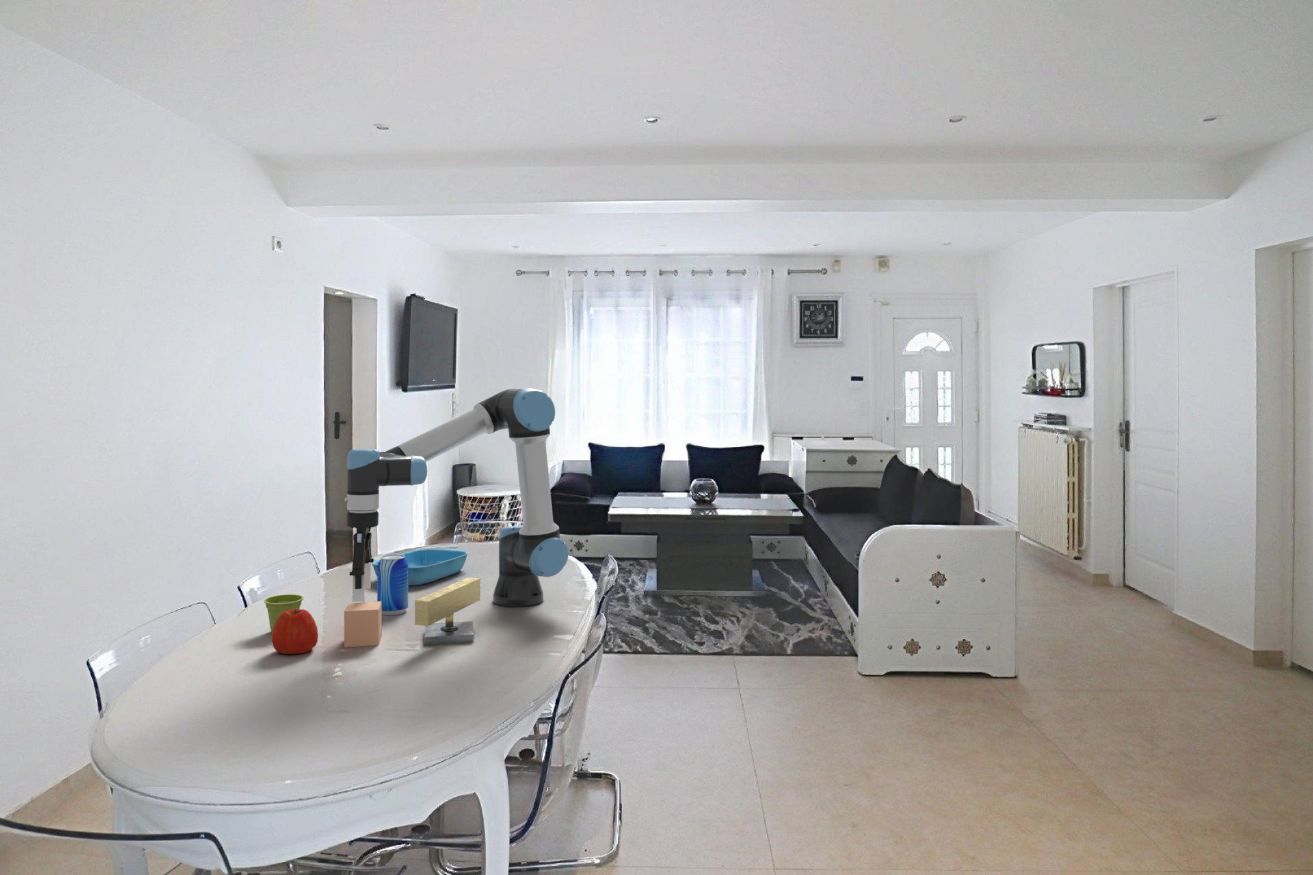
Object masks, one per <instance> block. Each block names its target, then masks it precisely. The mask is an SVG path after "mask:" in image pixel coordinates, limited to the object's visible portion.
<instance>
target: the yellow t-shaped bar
mask: <svg viewBox="0 0 1313 875" xmlns="http://www.w3.org/2000/svg"><path fill="white" fill-rule="evenodd" d="M480 601H481V578H480V577H479V578H478V577H466V578H464V579H461V580H459V581H457V582H454V583H452V584H449V585H447V586H445V587H443V588H441V589H438V590H435V591H433V592H432V593H429V594H426V595H424V596H421V597H420V598H417V599H415V600H414V626H415V625H416V626H425V627H426V626H429V625H431V624H433V623H438V622H439V621H441V620H443V619H445V622H444V623H445V627H447V628H451V627H453V622H454V614H455V613H457V612H459V611H461V610H463V609H465V608H467V607H469V606H471V605H474V604H476V603H477V602H480Z"/></svg>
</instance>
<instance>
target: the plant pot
mask: <svg viewBox="0 0 1313 875" xmlns="http://www.w3.org/2000/svg"><path fill="white" fill-rule="evenodd" d="M303 600H304V596H303V595H301V594H293V593H291V594H289V593H287V594H277V595H272V596H269V597H266V598H264V600H263V602H264V604H265V607H266V608H267V614H268V619H269V628H270V633H271V634H272V630H273V627H274V625H275V623H276V621H277V619H278V618H279V616H280V615H281V614H282V613H283V612H285V611H288V610H292V609H301V606H302V601H303Z"/></svg>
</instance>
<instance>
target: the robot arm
mask: <svg viewBox="0 0 1313 875" xmlns="http://www.w3.org/2000/svg"><path fill="white" fill-rule="evenodd" d="M555 416H556V407H555V404H554V401H553V400H552V398H551V397H550V396H549V395H548V394H547V393H545V392H544V391H543V390H540V389H534V388H531V387H529V388H509V389H504V390H502V391H499V392H497V393H496V394H493V395H492V396H490V397H488V398H486V399H484V400H482V401H480V402H478V403H475V405H474V406H473V409H471V410H470V411H467V412H465V413H463V414H461V415H459V416H457V417H455V418H453V419H451V420H449V421H446V422H444V423H442V424H440V425H438V426H436V427H433V428H432V429H430V430H428V431H426V432H423V433H422V434H420V435H417V436H415V437H413V438H411V439H408V440H407V441H405V442H402V443H400V444H399V445H396V446H394V447H392V448H390V449H388V450H386V451H380V450H378V449H376V448H354V449H351V450H349V452H348V454H347V459H346V460H347V461H346V462H347V463H346V485H347V486H346V488H347V489H346V490H347V491H346V494H347V495H346V496H347V497H344V502H346V509H347V510H348V511H347V513H346V527H348V528H352V529H356V532H355V533H354V534H353V538H352V540H353V552H352V568H351V571H349V576H352V602H351V603H357V602H366V601H365V598H366V596H365V594H366V590H369V589H371V586H372V585H371V584H372V583H371V582H372V578H371V575H372V571H371V570H372V563H374V560H375V558H373V554H372V532H371V530H372V528H376V527H377V526H379V517H380V514H379V511H378V509H379V508H380V490H379V489H380V487H392V486H397V487H398V486H399V487H400V486H415V485H423V484H424V483H425V482H426V479H427V476H428V464H427V463H428V462H430V461H431V460H433V459H436V458H437V457H440V456H441V455H444V454H445V453H447V452H449V451H451V450H454V449H455V448H458V447H459V446H461V445H464V444H465V443H467V442H469V441H471V440H473V439H475V438H477V437H480V436H481V435H482V436H483V435H484V434H487V435H491V434H493V433H495V432H498V431H501V430H506V429H507V431H508V437H509V440H511V441H512V442H513V443H514V445H515V455H516V456H515V457H516V463H517V473H518V483H519V492H520V502H521V504H520V505H521V514H522V523H523V524H522V525H521V524H520V525H511V526H504V527H501V528H500V530H499V535H498V570H499V571H498V579H497V581H496V583H495V587H494V590H493V593H492V603H494V604H495V605H498V606H503V607H529V606H534V605H538V604H540V603H542V602H543V601H544V591H543V587H542V584H541V581H540V578H539V577H543V578H550V577H554V576H555V575H558V574H559V573H560V572H561V571H562V570H563V569H564V567H565V566H566V564H567V563H568V559H569V554H570V553H569V548H568V545H567V543H566V542H565V541H564V540H563V539H561V533H560V532H561V531H560V527H559V525H558V524H556V522H554V515H553V506H552V504H553V503H552V495H551V494H552V493H551V486H550V485H551V484H550V474H549V464H548V462H549V461H548V452H547V443H546V441H547V439H548V438H549V436H550V435H551V430H550V429H551V428H550V427H551V425H552V424H553V422H554V420H555V418H556V417H555Z"/></svg>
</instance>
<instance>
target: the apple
mask: <svg viewBox="0 0 1313 875" xmlns="http://www.w3.org/2000/svg"><path fill="white" fill-rule="evenodd" d="M318 639H319V630H318V626H317V624H316V621H315V619H314V617H313V616H312V614H311V613H310V612H309V611H308V610H306V609H303V608H302V609H301V608H300V609H292V610H288V611H285V612H283V613H282V614H281V615H280V616H279V618H278V619H277V621H276V623H275V625H274V627H273V630H272V633H271V644H272V646H273V649H274V650H275V651H276V652H277V653H280V654H284V655H298V654H305V653H308V652H309V651H311V650H312V649H314V648H316V646H317V643H318V641H319V640H318Z"/></svg>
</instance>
